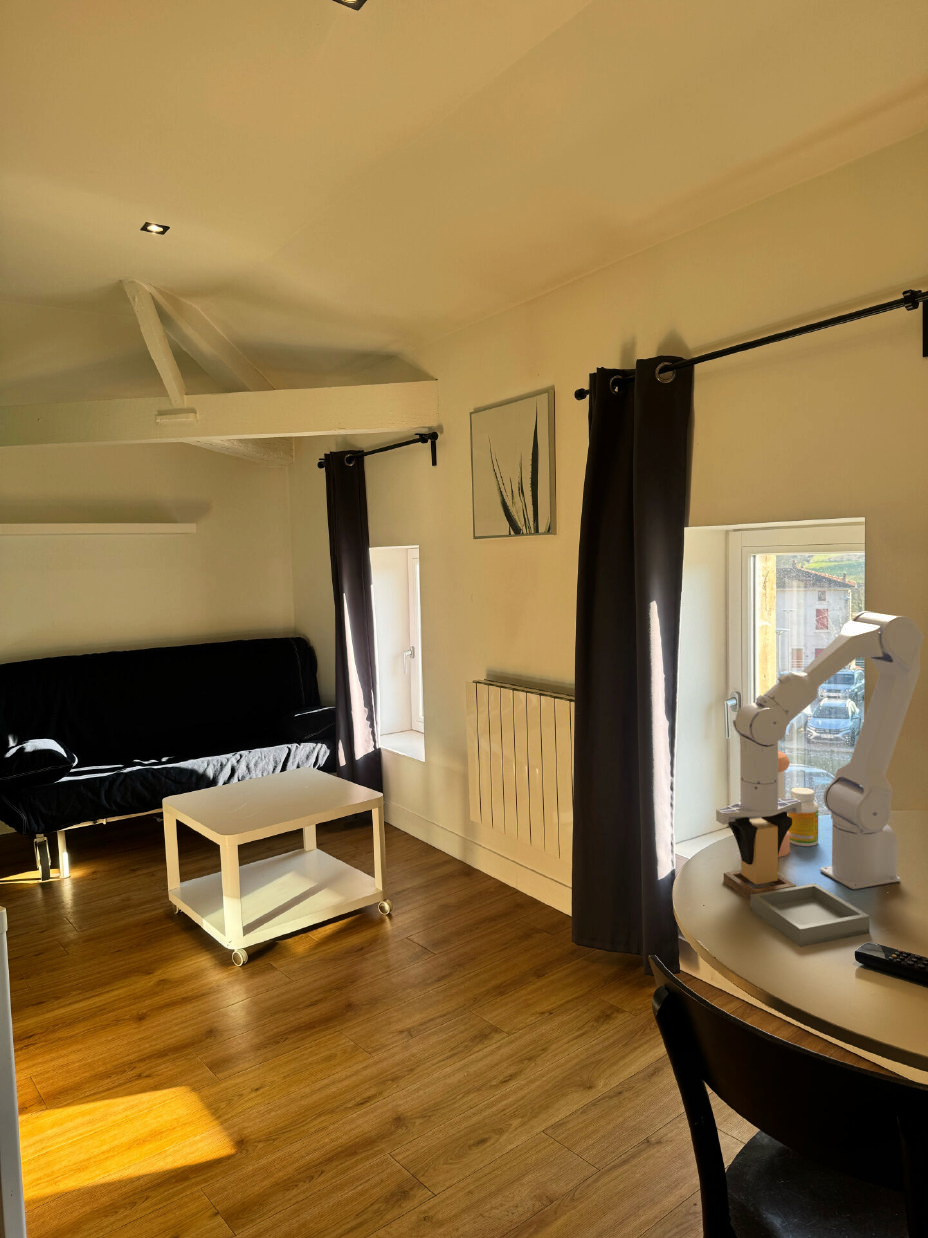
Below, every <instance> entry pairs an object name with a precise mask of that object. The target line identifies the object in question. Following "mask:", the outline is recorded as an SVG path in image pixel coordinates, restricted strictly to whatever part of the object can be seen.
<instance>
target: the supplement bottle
mask: <svg viewBox="0 0 928 1238" xmlns="http://www.w3.org/2000/svg"><path fill="white" fill-rule="evenodd" d="M790 798H795V799H797V800H799V801H801V802H802V813H794V812H792V813H788V817H790V818H792V826H791V827H790V828H789V830H788V831H789V832H790V844H793V845H795V846H800V847H812V846H816V845H817V844H818V843H819V804H818V803H817V802H816V801H814V800H815V790H813V789H811V788H808V787H794V788H791V790H790Z"/></svg>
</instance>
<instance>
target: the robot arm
mask: <svg viewBox="0 0 928 1238" xmlns="http://www.w3.org/2000/svg"><path fill="white" fill-rule="evenodd" d="M924 638H925V636H924V634H923V633H922V631H921V630H920V628H919V627H918V624H917V623H916V622H915V621H914V620H913V619H912V618H911V617H908V616H905V615H890V614H884V613H878V612H875V611H871V610H865V611H861V612H859V613H857V614H855V616H854V617H853V618H852V620H849V621H847V622H846V623H844V625H843V627H842V628H841V630H840V633H839V634H838V635H837V637H836V638H834V640H832V641H831V642H830V643H829V644H828V645H827V646H826V647H825V649H823V650H822V651H821V652H820V653H819V654H818V655H817V656H816V657H815V658H814V659H813V660H812V661H811V662H810V663H809V664H808V665H807V666H805V668H803V670H802V671H800V672H793V671H791V672H789V673H787V674H784V673H782V674H781V675H779V677H778V678H777V682H776V683H775V684H774V685H773V686H772V687H771V688H770V689H768V690H767V691H766V692H765V693H764V694H763V695H758V697H756V699H755V700H756V702H751V703H747V704H744V705H743V706H741V707H740V708H739V710H738V711H737V713H736V715H735V719H733V720H732V725H733V728H734V730H735V732H736V733H737V734H738V735H739V745H740V749H739V754H740V756H739V757H740V759H739V761H740V763H739V765H740V767H739V768H740V769H739V771H740V772H739V773H740V774H739V776H740V782H739V783H740V785H739V786H740V801H739V802H736V803H733V804H731V805H728V806H725V807H722V808H717V809H716V810H715V811H716V812H715V814H716V816H715V819H716V821H717V822H718V823H719V824H721V825H723V826H724V825H728V827H729V828H730V830H731V832H732V833H733V836H734V838H735V841H736V843H737V846H738V847H737V848H738V850H739V854H740V859H742V861H743V862H745V863H747V864H748V865H751V864H752V863H753V857H754V840H755V835H756V832H757V829H758V828H757V827H755V826H754V825H752V824H751V822H750V819H753V818H759V817H762V818H763V819H764V820H766V821H768V822H770V823H772V824H774V825H776V826H777V827H778V854H779V851H780V847H781V844H782V842H783V839H784V837H785V835H786V833H787V831H788V830H789V828H790V827H791V826H792V818H790V817H788V816H787V813H792V812H794V813H802V802H801V801H799V800H797V799H795V798H791V797H789V798H786V799H778V751H779V742H780V741H782V740H783V739H784V737H785V735H786V733H787V729H788V728H787V727H788V725H789V724H791V722H792V721H793V720H794V719H795V718H796V717H797V716H798V715H799V714H801V713H802V712H803V711H804V710H805V709H806V708H807V707H809V706H810V705H811V704H812V703H814V702H815V700H816V699H817V697H818V688H819V687H821V685H823V684H824V683H826V682H827V681H829V680H830V679H831V678H832V677H834V676H835V675H836V674H838V673H839V672H841V670H843V669H844V668H845V667H847V666H848V665H849V664H851V663H852V662H853V661H854V660H857V659H861V658H862V659H863V658H869V659H870V660H871V661H872V664H873V665H874V666H875V668H876V669H877V671H878V677H877V681H876V683H875V685H874V689H873V693H872V695H871V698H870V701H869V704H868V706H867V710H866V713H865V716H864V719H863V722H862V724H861V728H860V731H859V733H858V737H857V740H856V743H855V745H854V749H853V752H852V755H851V757H850V760H849V763H847V764H845V765H842V766H841V767H840V768H838V769H837V770H836V772H835V775H834V777H833V779H832V780H831V781H830V783H829V784H828V785H827V787H826V788H825V790H824V792H823V803H824V806H825V807H826V808H827V810H828V811H829V812H830V818H831V820H832V829H831V831H832V832H831V833H832V834H831V835H832V837H831V838H832V839H831V840H832V841H831V842H832V844H831V847H832V849H831V851H832V852H831V854H832V855H831V865H829V866H823V867H820V868H819V870H820V872H821V873H823V874H825V875H827V876H829V877H830V878H832V879H834V880H836V882H839V883H840V884H843V885H844V886H846V887H848V888H850V889H852V890H857V889H863V888H869V887H874V886H875V887H876V886H880V885H885V884H890V883H897V882H901V877H899V876H898V875H897V871H898V870H897V868H898V867H897V865H898V864H897V862H898V858H897V857H898V841H897V837H896V834H895V831H894V830H893V828H892V827H891V826H890V825H889V824H888V823H889V821H890V819H891V816H892V806H891V805H892V804H891V802H892V797H893V794H894V791H893V788H892V786H891V783H890V782H889V780H888V778H887V775H886V774H887V772H888V768H889V765H890V762H891V759H892V756H893V754H894V751H895V747H896V745H897V741H898V739H899V735H900V733H901V730H902V727H903V724H904V721H905V719H906V716H907V715H906V714H907V712H908V708H909V706H910V704H911V701H912V697H913V694H914V692H915V691H914V690H915V688H916V686H917V681H918V679H919V677H920V672H921V664H920V650H921V648H922V645H923V642H924Z"/></svg>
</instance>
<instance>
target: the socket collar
mask: <svg viewBox="0 0 928 1238" xmlns="http://www.w3.org/2000/svg"><path fill="white" fill-rule="evenodd" d="M746 881H750V880H749V879H747V878H746V877H744V876H743V875H741V869H740V870H733V871H728V872H727V871H726V872H723V883H725V885H728V886H729V887H730V888H732V889H733V890H735V891H736V892H737V893H739V894H740V895H741V896H743V897H744V898H746V899H748V900H749V901H750V902H751V894H757V893H763V892H768V891H774V890H780V889H785V888H791V887H797V884H795V883H794V882H791V881H790V880H788V879H787V878H785V877H784V876H782V875H780V874H779V873H778V881H772V882H770V883H771V884H773V885H772V886H766V887H760V888H753V887H752V886H750V885H749V884H747V883H746Z"/></svg>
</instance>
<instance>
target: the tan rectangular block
mask: <svg viewBox="0 0 928 1238" xmlns="http://www.w3.org/2000/svg"><path fill="white" fill-rule="evenodd" d="M750 822H751V824H752V825H754V826H755V827H757V828H758V829H757V832H756V835H755V840H754V857H753V863H752V864H751V865H748V864H747V863H745V862H743V861H742V859H741V858H740V859H741V861H740V863H741V864H740V866H741V869H740V870H741V875H743V876H744V877H746V878H747V879H749V880H748V881H751V882H752V883H753V884H755V885H759V884H765V883H771V882H772V881H778V874H779V868H778V867H779V865H778V864H779V859H778V858H779V857H778V827H777V826H776V825H774V824H772V823H770V822H768V821H766V820H764V819H763V818H762V819H755V820H750Z"/></svg>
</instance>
